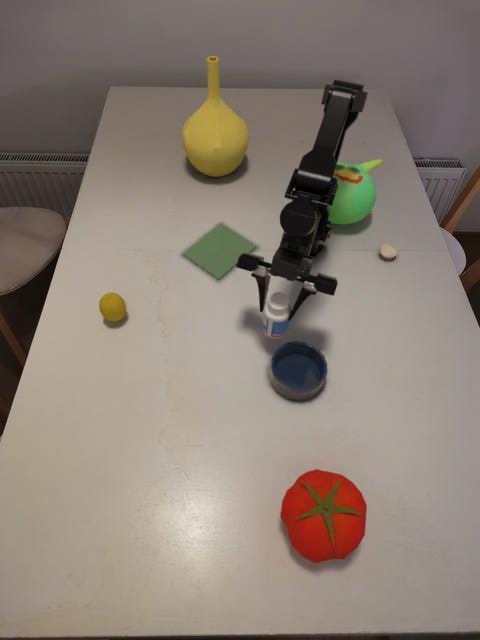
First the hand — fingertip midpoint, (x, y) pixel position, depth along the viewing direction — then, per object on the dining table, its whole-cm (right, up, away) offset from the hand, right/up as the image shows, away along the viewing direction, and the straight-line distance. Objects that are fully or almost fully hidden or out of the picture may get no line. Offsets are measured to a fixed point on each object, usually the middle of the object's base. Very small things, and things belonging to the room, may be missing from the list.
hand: (275, 316), depth 83 cm
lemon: (-34, 0, +14) cm, 37 cm away
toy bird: (+19, +28, +34) cm, 48 cm away
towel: (-12, +17, +25) cm, 32 cm away
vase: (-14, +44, +44) cm, 64 cm away
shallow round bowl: (+5, -12, +7) cm, 15 cm away
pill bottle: (+1, -2, +6) cm, 7 cm away
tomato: (+6, -35, -8) cm, 37 cm away
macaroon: (+30, +16, +26) cm, 43 cm away
